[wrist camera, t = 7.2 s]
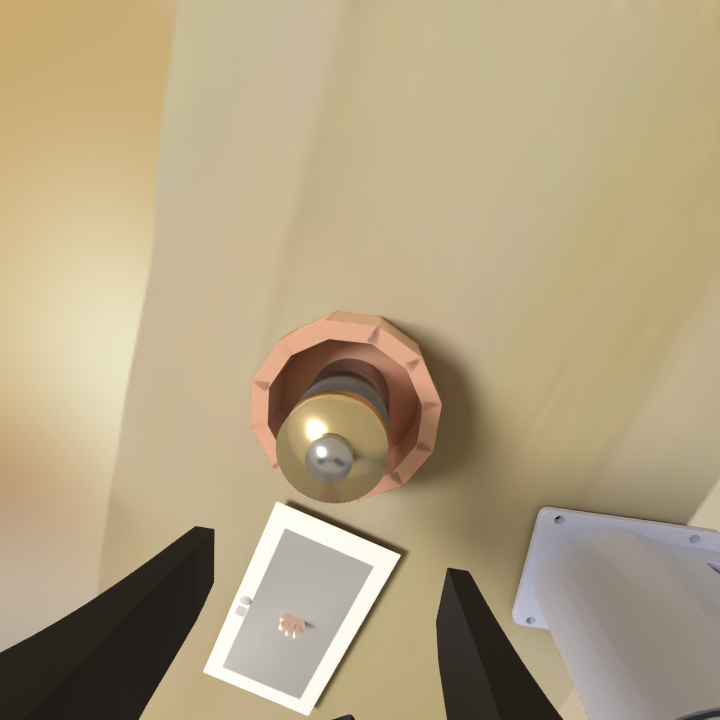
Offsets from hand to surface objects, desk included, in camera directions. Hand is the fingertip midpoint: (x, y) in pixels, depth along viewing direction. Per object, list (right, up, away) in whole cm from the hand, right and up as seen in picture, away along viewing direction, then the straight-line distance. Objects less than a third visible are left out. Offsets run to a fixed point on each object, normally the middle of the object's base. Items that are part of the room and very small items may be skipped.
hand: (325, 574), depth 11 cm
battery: (+1, +5, +8) cm, 9 cm away
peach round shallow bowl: (+1, +5, +8) cm, 10 cm away
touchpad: (-3, -9, +13) cm, 16 cm away
